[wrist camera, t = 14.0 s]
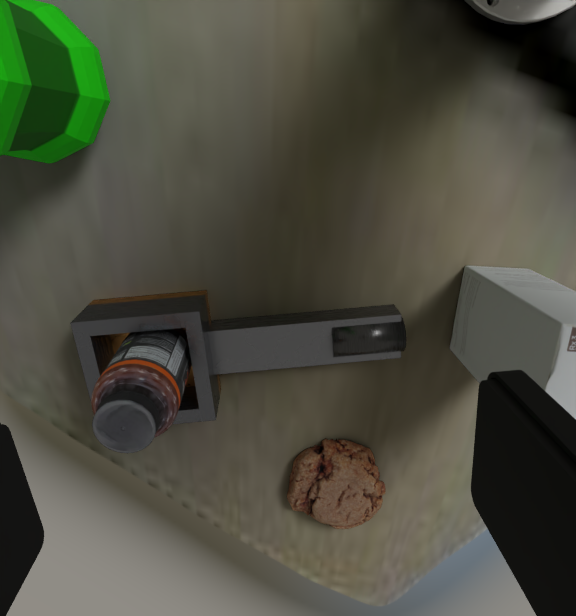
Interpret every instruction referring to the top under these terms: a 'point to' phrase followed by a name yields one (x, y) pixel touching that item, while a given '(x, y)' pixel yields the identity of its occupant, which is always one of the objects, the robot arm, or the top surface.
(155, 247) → the top surface
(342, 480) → the cookie
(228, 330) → the grey long handled piece
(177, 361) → the supplement bottle
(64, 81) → the plastic bottle
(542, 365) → the skincare box
